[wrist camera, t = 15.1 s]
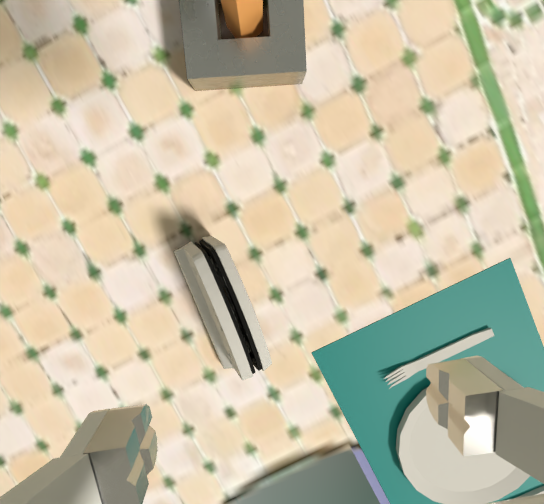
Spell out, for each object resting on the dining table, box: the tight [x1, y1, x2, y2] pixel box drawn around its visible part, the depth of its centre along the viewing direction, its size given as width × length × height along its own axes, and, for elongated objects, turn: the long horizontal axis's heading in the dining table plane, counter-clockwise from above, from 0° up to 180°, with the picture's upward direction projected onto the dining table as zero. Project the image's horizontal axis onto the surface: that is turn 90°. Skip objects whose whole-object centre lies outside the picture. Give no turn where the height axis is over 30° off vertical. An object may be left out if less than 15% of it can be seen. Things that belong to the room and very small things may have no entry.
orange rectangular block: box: [221, 0, 263, 39], centre depth 31 cm, size 3×3×10 cm
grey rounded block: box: [174, 236, 272, 380], centre depth 38 cm, size 17×5×10 cm, turn 20°
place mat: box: [312, 258, 544, 504], centre depth 46 cm, size 45×30×2 cm
